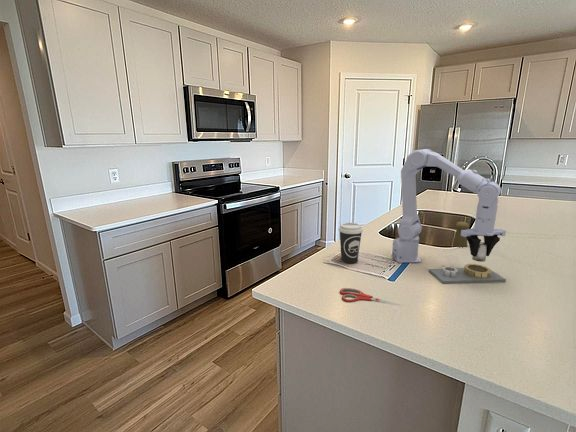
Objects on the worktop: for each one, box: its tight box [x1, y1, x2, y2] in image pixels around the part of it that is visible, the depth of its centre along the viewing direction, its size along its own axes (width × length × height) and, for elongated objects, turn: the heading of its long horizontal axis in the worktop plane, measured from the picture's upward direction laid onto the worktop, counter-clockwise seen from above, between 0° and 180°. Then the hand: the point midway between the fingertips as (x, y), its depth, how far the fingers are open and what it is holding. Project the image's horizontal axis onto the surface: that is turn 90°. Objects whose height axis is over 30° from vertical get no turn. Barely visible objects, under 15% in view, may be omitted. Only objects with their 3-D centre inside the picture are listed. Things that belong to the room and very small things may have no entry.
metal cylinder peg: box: [472, 241, 488, 263], centre depth 109 cm, size 4×4×6 cm
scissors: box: [339, 287, 403, 307], centre depth 97 cm, size 8×21×2 cm, turn 77°
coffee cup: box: [338, 222, 364, 265], centre depth 124 cm, size 10×10×15 cm
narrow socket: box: [441, 265, 458, 278], centre depth 110 cm, size 5×5×2 cm
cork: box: [452, 221, 470, 249], centre depth 140 cm, size 6×6×11 cm
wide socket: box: [463, 263, 492, 279], centre depth 110 cm, size 8×8×2 cm
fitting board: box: [428, 267, 507, 285], centre depth 111 cm, size 22×10×1 cm, turn 92°
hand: (479, 255), depth 109 cm, fingers closed on metal cylinder peg, 4 cm apart
